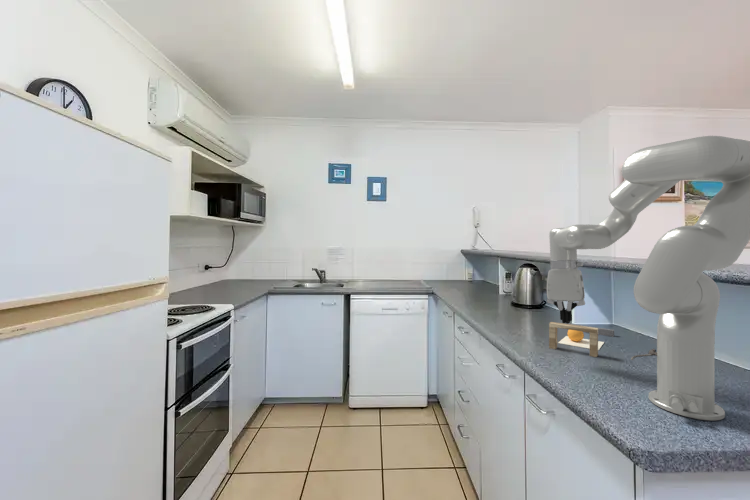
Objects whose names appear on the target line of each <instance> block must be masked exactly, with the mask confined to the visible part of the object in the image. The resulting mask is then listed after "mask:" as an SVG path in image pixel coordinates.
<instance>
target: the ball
mask: <svg viewBox="0 0 750 500" xmlns="http://www.w3.org/2000/svg"><path fill="white" fill-rule="evenodd" d="M584 333H585V332H583V331H576V330H569V329H567V335H566V336H568V337H569V339H570V340H572V341H575V342H579V341H581V340H582V339H585V338H584V337H585V334H584Z"/></svg>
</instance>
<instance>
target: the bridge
mask: <svg viewBox="0 0 750 500" xmlns="http://www.w3.org/2000/svg"><path fill="white" fill-rule="evenodd" d="M570 324H571V323H568V324H567V323H562V322H555V321H550V322H549V323H548V348H549V349H553V350H557V349H558V329H564V330H576V331H583V333H585V332H589V333H588V334H589V340H590V349H589V357H593V358H598V356H599V350H598V341H599V334H598V328H599V327H598V328H592V327H593V326H590V327H585V326H586V325H583V326H578V325H579V324H576V325H570Z"/></svg>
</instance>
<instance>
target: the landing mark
mask: <svg viewBox="0 0 750 500" xmlns="http://www.w3.org/2000/svg"><path fill="white" fill-rule="evenodd" d="M557 344H560V345H566V346H572V347H577V348H583V349H588V350H590V339H588V338H583V339H582V340H581V341H579V342H575V341H572V340H570V339H569V337H568V335H565V336H564V337H563V338H562V339H560V341H557ZM604 344H605V341H600V340H598V351H600V349H601V348H602V346H603V345H604Z"/></svg>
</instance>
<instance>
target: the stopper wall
mask: <svg viewBox="0 0 750 500" xmlns="http://www.w3.org/2000/svg"><path fill="white" fill-rule="evenodd" d="M569 324H570V325H578V326H585V327H592V328H598V336H599V335H600V336H606V337H612V338H613V337H615V329H610V328H603V327H597V326H589V325H581V324H575V323H569ZM584 333H587V334H590V333H589V332H584Z"/></svg>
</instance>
